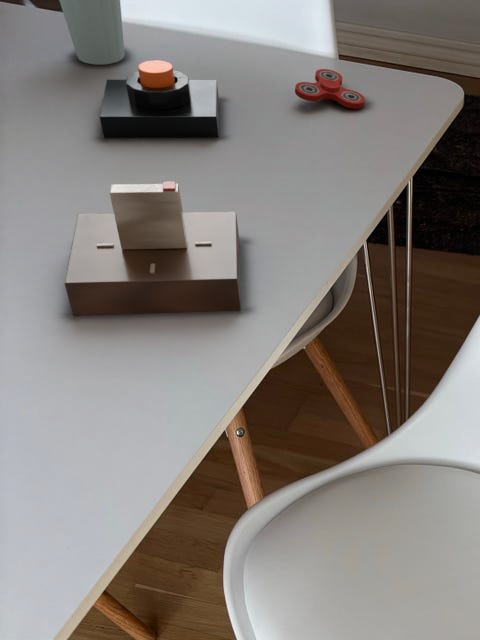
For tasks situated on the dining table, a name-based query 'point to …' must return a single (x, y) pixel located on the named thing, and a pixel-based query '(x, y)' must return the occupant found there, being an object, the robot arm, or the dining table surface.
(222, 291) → the panel
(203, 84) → the button block
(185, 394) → the dining table surface
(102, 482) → the dining table surface
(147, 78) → the button
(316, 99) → the fidget spinner
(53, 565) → the dining table surface
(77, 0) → the cup
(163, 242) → the red-tipped white slab
